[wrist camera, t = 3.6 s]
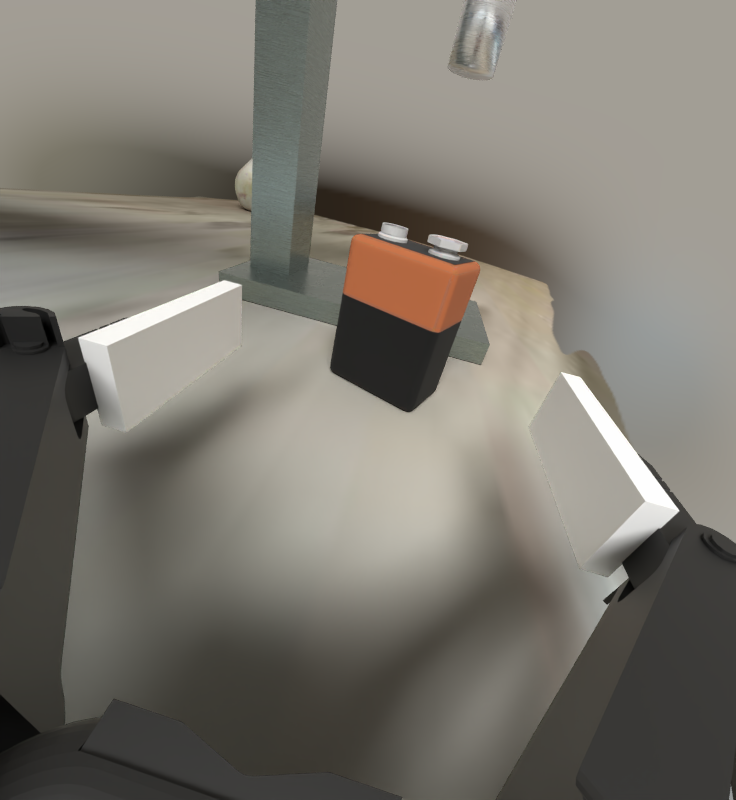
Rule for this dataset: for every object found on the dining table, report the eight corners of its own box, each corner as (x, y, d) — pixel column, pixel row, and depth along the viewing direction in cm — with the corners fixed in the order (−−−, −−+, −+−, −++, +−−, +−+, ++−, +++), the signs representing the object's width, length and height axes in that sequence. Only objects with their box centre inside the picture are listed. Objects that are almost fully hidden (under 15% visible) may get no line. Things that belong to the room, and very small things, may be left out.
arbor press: (219, 293, 32) (182, -1043, 10) (279, 266, 44) (321, -381, 22) (551, 384, 31) (1331, -944, 9) (521, 331, 42) (822, -293, 21)
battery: (408, 416, 22) (465, 249, 16) (326, 371, 24) (351, 214, 19) (436, 393, 25) (491, 247, 20) (361, 355, 27) (391, 217, 22)
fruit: (288, 217, 80) (293, 155, 74) (269, 219, 72) (272, 150, 66) (248, 206, 81) (249, 144, 75) (225, 207, 73) (224, 138, 67)
